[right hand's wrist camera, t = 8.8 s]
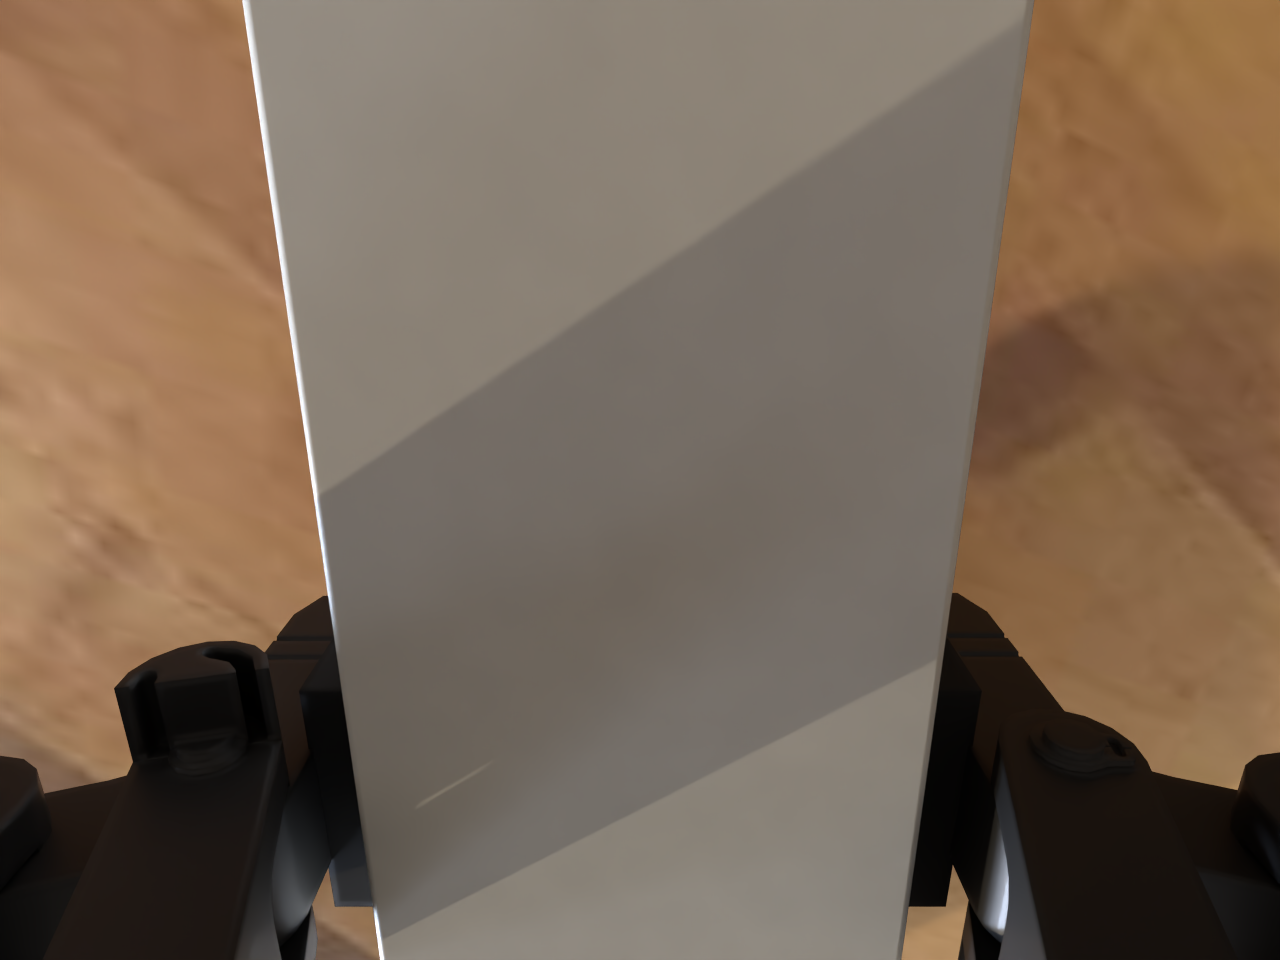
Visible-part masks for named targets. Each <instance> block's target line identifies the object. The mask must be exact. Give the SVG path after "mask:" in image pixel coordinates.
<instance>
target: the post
mask: <svg viewBox="0 0 1280 960" xmlns="http://www.w3.org/2000/svg"><path fill="white" fill-rule="evenodd" d="M1033 6H1034V0H243V7H244V14H245V21H246V28H247V35H248V42H249V49H250V56H251V63H252V70H253V77H254V84H255V91H256V98H257V105H258V112H259V119H260V126H261V132H262V139H263V146H264V153H265V160H266V167H267V174H268V181H269V188H270V195H271V202H272V209H273V216H274V223H275V230H276V237H277V244H278V251H279V258H280V265H281V272H282V278H283V285H284V292H285V299H286V306H287V313H288V320H289V327H290V334H291V341H292V348H293V355H294V362H295V369H296V376H297V383H298V390H299V397H300V404H301V411H302V417H303V424H304V431H305V438H306V445H307V452H308V459H309V466H310V473H311V480H312V487H313V494H314V501H315V508H316V515H317V522H318V529H319V536H320V543H321V550H322V557H323V563H324V570H325V577H326V584H327V591H328V598H329V605H330V612H331V619H332V626H333V633H334V640H335V647H336V654H337V661H338V668H339V675H340V682H341V689H342V696H343V702H344V709H345V716H346V723H347V730H348V737H349V744H350V751H351V758H352V765H353V772H354V779H355V786H356V793H357V800H358V807H359V814H360V821H361V828H362V835H363V841H364V848H365V855H366V862H367V869H368V876H369V883H370V890H371V897H372V904H373V911H374V918H375V925H376V932H377V939H378V946H379V953H380V960H901V957H902V950H903V943H904V936H905V929H906V921H907V914H908V907H909V900H910V893H911V885H912V878H913V871H914V864H915V856H916V849H917V842H918V835H919V828H920V820H921V813H922V806H923V799H924V792H925V784H926V777H927V770H928V763H929V756H930V748H931V741H932V734H933V727H934V719H935V712H936V705H937V698H938V691H939V683H940V676H941V669H942V662H943V655H944V647H945V640H946V633H947V626H948V619H949V611H950V604H951V597H952V590H953V582H954V575H955V568H956V561H957V554H958V546H959V539H960V532H961V525H962V518H963V510H964V503H965V496H966V489H967V482H968V474H969V467H970V460H971V453H972V445H973V438H974V431H975V424H976V417H977V409H978V402H979V395H980V388H981V381H982V373H983V366H984V359H985V352H986V345H987V337H988V330H989V323H990V316H991V309H992V301H993V294H994V287H995V280H996V272H997V265H998V258H999V251H1000V244H1001V236H1002V229H1003V222H1004V215H1005V208H1006V200H1007V193H1008V186H1009V179H1010V172H1011V164H1012V157H1013V150H1014V143H1015V135H1016V128H1017V121H1018V114H1019V107H1020V99H1021V92H1022V85H1023V78H1024V71H1025V63H1026V56H1027V49H1028V42H1029V35H1030V27H1031V20H1032V13H1033Z"/></svg>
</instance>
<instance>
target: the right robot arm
mask: <svg viewBox="0 0 1280 960" xmlns="http://www.w3.org/2000/svg"><path fill="white" fill-rule="evenodd" d="M114 690H115V694H116V698H117V702H118V705H119V709H120V713H121V717H122V721H123V725H124V729H125V732H126V736H127V740H128V744H129V748H130V752H131V756H132V760H133V764H132V766H131V768H130V770H129V772H128V774H127V776H123V777H120V778H116V779H112V780H108V781H104V782H99V783H94V784H89V785H84V786H79V787H74V788H69V789H65V790H60V791H55V792H50V793H45V794H44V792H43V788H42V785H41V782H40V779H39V775H38V772H37V769H36V768H35V767H33V766H32V765H31V764H29V763H28V762H27V761H26V760H24V759H19V758H12V757H5V756H0V960H315V958H316V949H317V940H318V938H317V931H316V924H315V918H314V912H313V907H312V903H313V901H314V898H315V896H316V894H317V892H318V889H319V887H320V885H321V883H322V880H323V878H324V876H325V874H326V871H327V869H328V868H329V874H330V880H331V886H332V892H333V898H334V904H335V907H373V904H372V897H371V890H370V883H369V876H368V869H367V862H366V855H365V848H364V841H363V835H362V828H361V821H360V814H359V807H358V800H357V793H356V786H355V779H354V772H353V765H352V758H351V751H350V744H349V737H348V730H347V723H346V716H345V709H344V702H343V696H342V689H341V682H340V675H339V668H338V661H337V654H336V647H335V640H334V633H333V626H332V619H331V612H330V605H329V598H328V596H322V597H321V598H319V599H318V600H316V601H315V602H313V603H311V604H310V605H308V606H307V607H305V608H304V609H302V610H300V611H299V612H297V613H296V614H294V615H293V617H292V618H291V619H290V620H289V622H288V623H287V624H286V626H285V627H284V628H283V630H282V631H281V632H280V633H279V635H278V636H277V641H273V642H272V644H271V645H270V646H269V648H268V649H267V650H266V652H265V653H264V652H263V651H262V650H260V649H259V648H258V647H256V646H255V645H251V644H246V643H242V642H237V641H214V642H204V643H199V644H195V645H190V646H185V647H180V648H177V649H175V650H172V651H169V652H167V653H164V654H162V655H159V656H156V657H154V658H151V659H150V660H148V661H146V662H145V663H143V664H141V665H140V666H138V667H137V668H135V669H133V670H132V671H130V672H128V674H127V675H126V676H125V677H124V678H123V679H122V680H121V681H120V682H119V684H118V685H117V686H116V687H115V688H114ZM952 866H954V868H955V870H956V872H957V875H958V877H959V879H960V881H961V884H962V886H963V888H964V890H965V893H966V895H967V897H968V899H969V901H968V907H967V912H966V918H965V923H964V929H963V934H962V940H961V946H960V951H959V957H958V960H1280V753H1272V754H1265V755H1258V756H1257V757H1256V758H1254V759H1253V760H1252V761H1250V762H1249V763H1248V764H1246V765H1245V768H1244V772H1243V775H1242V778H1241V781H1240V785H1239V788H1238V790H1234V789H1229V788H1224V787H1219V786H1215V785H1210V784H1205V783H1200V782H1195V781H1190V780H1185V779H1180V778H1175V777H1171V776H1167V775H1163V774H1160V773H1156V772H1152V771H1151V769H1150V766H1149V764H1148V762H1147V760H1146V759H1145V758H1144V757H1143V755H1142V754H1141V753H1140V751H1139V750H1138V749H1137V747H1136V746H1135V745H1134V744H1133V743H1132V742H1131V741H1129V740H1128V739H1126V738H1125V737H1124V736H1122V735H1121V734H1119V733H1118V732H1117V731H1115V730H1114V729H1112V728H1111V727H1108V726H1106V725H1104V724H1102V723H1099V722H1097V721H1095V720H1092V719H1090V718H1088V717H1086V716H1082V715H1078V714H1073V713H1069V712H1065V711H1064V710H1063V709H1062V707H1061V706H1060V705H1059V704H1058V702H1057V701H1056V700H1055V698H1054V697H1053V696H1052V695H1051V693H1050V692H1049V691H1048V689H1047V688H1046V687H1045V686H1044V684H1043V683H1042V682H1041V680H1040V679H1039V678H1038V677H1037V675H1036V674H1035V673H1034V671H1033V670H1032V669H1031V668H1030V666H1029V665H1028V664H1027V662H1026V661H1025V660H1024V659H1023V657H1019V656H1018V651H1017V650H1016V648H1015V647H1014V646H1013V644H1012V643H1011V642H1010V641H1009V639H1008V638H1004V633H1003V632H1002V630H1001V629H1000V628H999V627H998V625H997V624H996V623H995V621H994V620H993V619H992V618H991V616H990V615H989V614H988V612H987V611H985V610H983V609H982V608H980V607H979V606H977V605H975V604H974V603H972V602H971V601H969V600H968V599H966V598H964V597H963V596H961V595H960V594H958V593H952V597H951V604H950V611H949V619H948V626H947V633H946V640H945V647H944V655H943V662H942V669H941V676H940V683H939V691H938V698H937V705H936V712H935V719H934V727H933V734H932V741H931V748H930V756H929V763H928V770H927V777H926V784H925V792H924V799H923V806H922V813H921V820H920V828H919V835H918V842H917V849H916V856H915V864H914V871H913V878H912V885H911V893H910V900H909V907H946V902H947V896H948V890H949V884H950V878H951V872H952Z"/></svg>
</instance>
